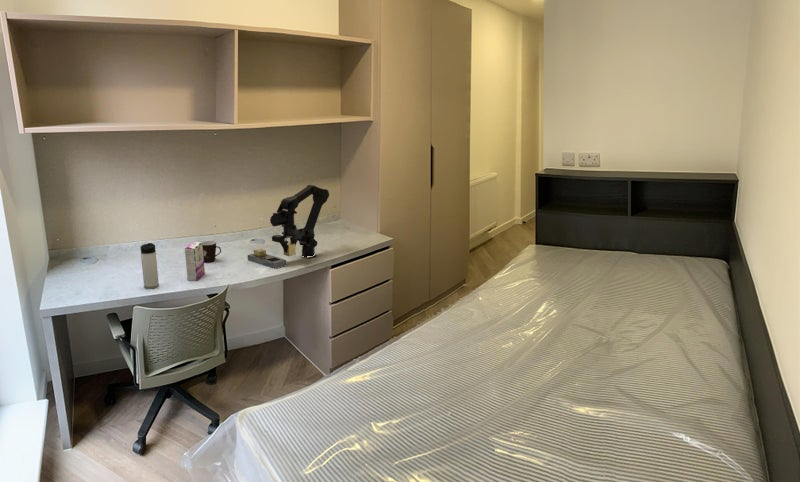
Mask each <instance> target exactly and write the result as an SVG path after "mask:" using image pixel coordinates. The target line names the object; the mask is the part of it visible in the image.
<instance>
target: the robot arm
mask: <svg viewBox="0 0 800 482" xmlns="http://www.w3.org/2000/svg"><path fill="white" fill-rule="evenodd" d="M310 196H312V202H313V203H312V206H311V207H310V212H309V214H308V217H307V219H306V223H305V226H304V227H302V228H297V224H295V215H296V214H298V212H297V211H296V209H297V208H298V207H299V204H300V203H302V202H303V201H304V200H305V199H307V198H308V197H310ZM329 196H330V192H329V190H328V189H325V188H321V187H319V186H316V185H314V184H308V185H306V187H304V188H303V189H302V190H300V191H299V192H297V193H296V194H293V195H292V196H288V197H285V198H283V199H281V201H280V204H279V206H278V208H277V210H276V212H273V213H272V215H271V216H270V219H269V221H270V224H271V226H273V227H275V228H276V227H279V226H281V228H282V229H283V232H281V234H273V235H272V237H271V241H272V242H274V243H279V244H280V246H281V247H282V249H284V250H283V252H284V251H285V253H287V243H289V242H291V243H294V244H295V247H296V245H297V243H298V244H299V245H300V246H301V248H302V249H301V255H302V256H304V257H307V256H313V255H314V254H315V255H316V253H315V249H316V247H317V246H318V241H317V240H316V239H315V231H314V230H315V227H316V225H317V221H318V218H319V215H320V214H321V209H322V207H323V205H324V204H326V202H327V201H328V199H329V198H330V197H329ZM288 239H289V240H288ZM304 257H303V258H304Z"/></svg>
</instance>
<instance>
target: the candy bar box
mask: <svg viewBox="0 0 800 482" xmlns="http://www.w3.org/2000/svg"><path fill="white" fill-rule="evenodd" d="M202 242H203V241H192V242H191V243H190V244H189V245H186V246H185V248H184V254H185V265H186V275H187V276H186V277H187V281H189V282H193V281H195V282H196V281H199V279H201V278H202V277H203V276H204V275H205V273H206V271H205V270H206V269H205V263H204V258H203V246H202Z"/></svg>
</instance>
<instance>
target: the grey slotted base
mask: <svg viewBox="0 0 800 482" xmlns="http://www.w3.org/2000/svg"><path fill="white" fill-rule="evenodd" d="M247 261H249V262H252V263H255V264H258V265H260V266H263V267H267V268H269V269H273V268H274V270H276V269H279V268H278V267H280V268H282V267H281V266H283V267H286V266H287V259H284V258H281V257H277V256H274V255H271V254H268V253H266V256H263V257H256V256H254V252H253V253H250V254H247ZM285 265H286V266H285ZM275 268H276V269H275Z"/></svg>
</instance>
